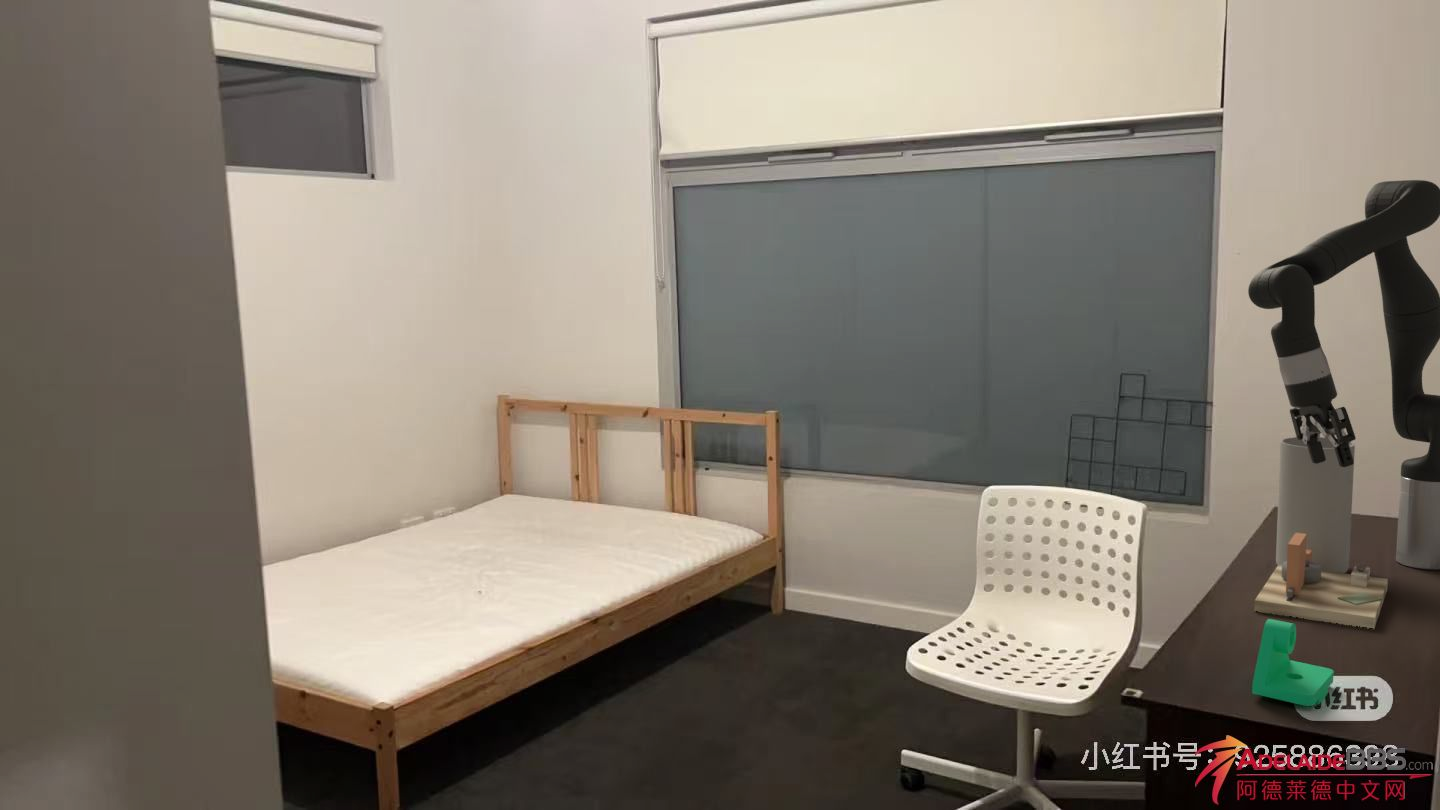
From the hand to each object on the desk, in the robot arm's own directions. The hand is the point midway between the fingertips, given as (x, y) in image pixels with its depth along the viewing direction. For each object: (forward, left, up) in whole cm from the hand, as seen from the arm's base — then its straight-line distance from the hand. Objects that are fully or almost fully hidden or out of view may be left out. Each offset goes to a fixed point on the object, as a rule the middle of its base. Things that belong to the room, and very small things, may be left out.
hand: (1333, 464), depth 192 cm
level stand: (+2, +1, -24) cm, 24 cm away
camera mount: (+33, +35, -25) cm, 54 cm away
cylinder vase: (-9, -16, -25) cm, 31 cm away
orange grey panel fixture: (+5, -2, -22) cm, 23 cm away
